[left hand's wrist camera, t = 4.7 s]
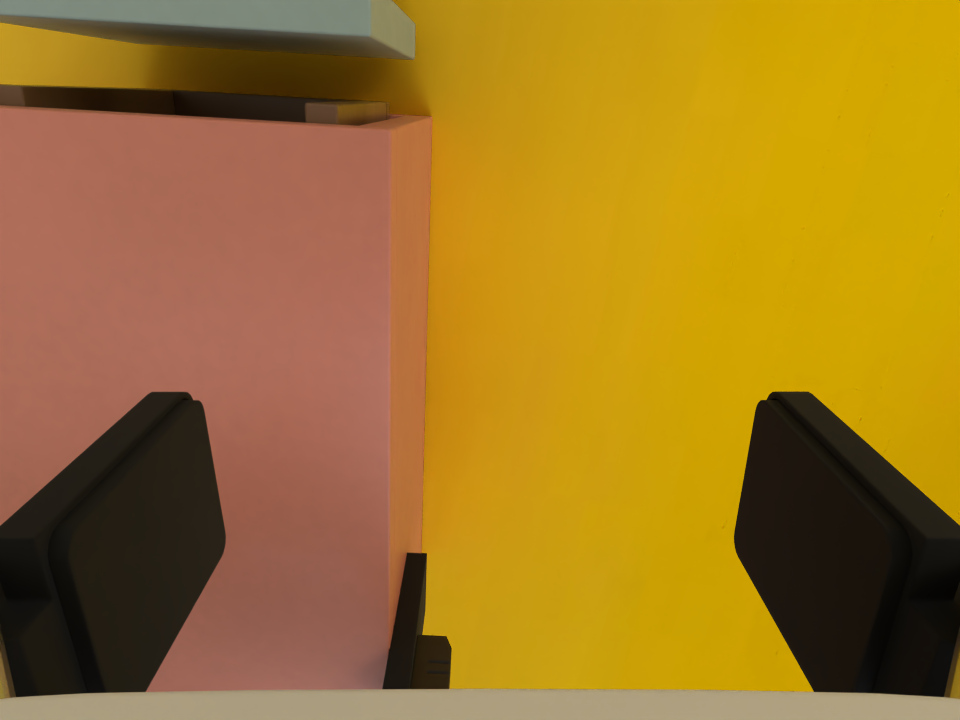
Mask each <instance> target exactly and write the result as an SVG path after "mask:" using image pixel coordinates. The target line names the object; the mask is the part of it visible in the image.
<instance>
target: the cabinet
mask: <svg viewBox="0 0 960 720" xmlns="http://www.w3.org/2000/svg"><path fill="white" fill-rule="evenodd" d="M431 148H432V117H431V116H416V115H399V114H389V120H384V121H379V122H374V123H370V124H365V125H360V126H353V125H336V124H319V123H301V122H284V121H266V120H249V119H232V118H214V117H197V116H180V115H162V114H145V113H127V112H110V111H93V110H75V109H58V108H40V107H23V106H6V105H0V525H2V524H3V523H4V522H5V521H6V520H7V519H8V518H9V517H11V516H12V515H13V514H14V513H15V512H16V511H17V510H18V509H20V508H21V507H22V506H23V505H24V504H25V503H26V502H27V501H29V500H30V499H31V498H32V497H33V496H34V495H35V494H36V493H38V492H39V491H40V490H41V489H42V488H43V487H44V486H45V485H46V484H48V483H49V482H50V481H51V480H52V479H53V478H54V477H55V476H57V475H58V474H59V473H60V472H61V471H62V470H63V469H64V468H66V467H67V466H68V465H69V464H70V463H71V462H72V461H73V460H75V459H76V458H77V457H78V456H79V455H80V454H81V453H82V452H84V451H85V450H86V449H87V448H88V447H89V446H90V445H91V444H92V443H94V442H95V441H96V440H97V439H98V438H99V437H100V436H101V435H103V434H104V433H105V432H106V431H107V430H108V429H109V428H110V427H112V426H113V425H114V424H115V423H116V422H117V421H118V420H119V419H121V418H122V417H123V416H124V415H125V414H126V413H127V412H128V411H130V410H131V409H132V408H133V407H134V406H135V405H136V404H137V403H138V402H140V401H141V400H142V399H143V398H144V397H145V396H146V395H147V394H149V393H151V392H188V393H189V394H190V395H191V396H192V398H193V400H199V401H200V402H201V403H202V405H203V407H204V411H205V417H206V422H207V428H208V434H209V440H210V446H211V451H212V457H213V463H214V469H215V475H216V480H217V486H218V492H219V498H220V503H221V509H222V515H223V521H224V527H225V533H226V543H225V549H224V553H223V555H222V557H221V559H220V561H219V563H218V564H217V566H216V568H215V570H214V571H213V573H212V575H211V577H210V579H209V580H208V582H207V584H206V586H205V587H204V589H203V591H202V593H201V595H200V596H199V598H198V600H197V602H196V603H195V605H194V607H193V609H192V611H191V612H190V614H189V616H188V618H187V619H186V621H185V623H184V625H183V627H182V628H181V630H180V632H179V634H178V635H177V637H176V639H175V641H174V643H173V644H172V646H171V648H170V650H169V651H168V653H167V655H166V657H165V659H164V660H163V662H162V664H161V666H160V667H159V669H158V671H157V673H156V675H155V676H154V678H153V680H152V682H151V683H150V685H149V687H148V689H147V691H146V692H177V691H229V690H358V689H382V687H383V682H384V676H385V671H386V665H387V660H388V654H389V649H390V645H391V640H392V634H393V626H394V623H395V617H396V612H397V606H398V600H399V595H400V589H401V584H402V578H403V572H404V567H405V561H406V556H407V552H408V553H421V545H422V506H423V466H424V426H425V387H426V347H427V307H428V267H429V228H430V188H431Z"/></svg>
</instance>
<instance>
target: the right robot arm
mask: <svg viewBox="0 0 960 720" xmlns="http://www.w3.org/2000/svg"><path fill="white" fill-rule="evenodd" d="M426 563H427V553H408V552H407V556H406V561H405V567H404V572H403V578H402V584H401V589H400V595H399V600H398V606H397V612H396V617H395V623H394V626H393V634H392V640H391V645H390V649H389V654H388V660H387V665H386V671H385V676H384V682H383V687H382V689H449V687H450V669H451V646H450V644H449V641H448V639H447V637H446V636H430V635H422V632H423V624H424V615H425V599H426Z"/></svg>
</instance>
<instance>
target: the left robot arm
mask: <svg viewBox="0 0 960 720" xmlns="http://www.w3.org/2000/svg"><path fill="white" fill-rule="evenodd" d="M225 543H226V533H225V527H224V521H223V515H222V509H221V503H220V498H219V492H218V486H217V480H216V475H215V469H214V463H213V457H212V451H211V446H210V440H209V434H208V428H207V422H206V417H205V411H204V407H203V405H202V403H201V402H200V401H199V400H193V398H192V396H191V395H190V394H189V393H188V392H151V393H149V394H147V395H146V396H145V397H144V398H143V399H142V400H141V401H140V402H138V403H137V404H136V405H135V406H134V407H133V408H132V409H131V410H130V411H128V412H127V413H126V414H125V415H124V416H123V417H122V418H121V419H119V420H118V421H117V422H116V423H115V424H114V425H113V426H112V427H110V428H109V429H108V430H107V431H106V432H105V433H104V434H103V435H101V436H100V437H99V438H98V439H97V440H96V441H95V442H94V443H92V444H91V445H90V446H89V447H88V448H87V449H86V450H85V451H84V452H82V453H81V454H80V455H79V456H78V457H77V458H76V459H75V460H73V461H72V462H71V463H70V464H69V465H68V466H67V467H66V468H64V469H63V470H62V471H61V472H60V473H59V474H58V475H57V476H55V477H54V478H53V479H52V480H51V481H50V482H49V483H48V484H46V485H45V486H44V487H43V488H42V489H41V490H40V491H39V492H38V493H36V494H35V495H34V496H33V497H32V498H31V499H30V500H29V501H27V502H26V503H25V504H24V505H23V506H22V507H21V508H20V509H18V510H17V511H16V512H15V513H14V514H13V515H12V516H11V517H9V518H8V519H7V520H6V521H5V522H4V523H3V524H2V525H0V720H960V525H958V524H957V523H956V522H955V521H954V520H953V519H952V518H951V517H949V516H948V515H947V514H946V513H945V512H944V511H943V510H942V509H940V508H939V507H938V506H937V505H936V504H935V503H934V502H933V501H931V500H930V499H929V498H928V497H927V496H926V495H925V494H924V493H922V492H921V491H920V490H919V489H918V488H917V487H916V486H915V485H914V484H912V483H911V482H910V481H909V480H908V479H907V478H906V477H905V476H903V475H902V474H901V473H900V472H899V471H898V470H897V469H896V468H894V467H893V466H892V465H891V464H890V463H889V462H888V461H887V460H885V459H884V458H883V457H882V456H881V455H880V454H879V453H878V452H876V451H875V450H874V449H873V448H872V447H871V446H870V445H869V444H868V443H866V442H865V441H864V440H863V439H862V438H861V437H860V436H859V435H857V434H856V433H855V432H854V431H853V430H852V429H851V428H850V427H848V426H847V425H846V424H845V423H844V422H843V421H842V420H841V419H839V418H838V417H837V416H836V415H835V414H834V413H833V412H832V411H830V410H829V409H828V408H827V407H826V406H825V405H824V404H823V403H822V402H820V401H819V400H818V399H817V398H816V397H815V396H814V395H813V394H811V393H809V392H772V393H771V394H770V395H769V396H768V398H767V400H761V401H760V402H759V403H758V405H757V407H756V411H755V417H754V422H753V428H752V434H751V440H750V446H749V451H748V457H747V463H746V469H745V474H744V480H743V486H742V492H741V498H740V503H739V509H738V515H737V521H736V527H735V533H734V543H735V549H736V553H737V555H738V557H739V559H740V561H741V563H742V564H743V566H744V568H745V570H746V571H747V573H748V575H749V577H750V579H751V580H752V582H753V584H754V586H755V587H756V589H757V591H758V593H759V595H760V596H761V598H762V600H763V602H764V603H765V605H766V607H767V609H768V611H769V612H770V614H771V616H772V618H773V619H774V621H775V623H776V625H777V627H778V628H779V630H780V632H781V634H782V635H783V637H784V639H785V641H786V643H787V644H788V646H789V648H790V650H791V651H792V653H793V655H794V657H795V659H796V660H797V662H798V664H799V666H800V667H801V669H802V671H803V673H804V675H805V676H806V678H807V680H808V682H809V683H810V685H811V687H812V689H813V691H814V692H783V691H731V690H602V689H358V690H229V691H177V692H146V691H147V689H148V687H149V685H150V683H151V682H152V680H153V678H154V676H155V675H156V673H157V671H158V669H159V667H160V666H161V664H162V662H163V660H164V659H165V657H166V655H167V653H168V651H169V650H170V648H171V646H172V644H173V643H174V641H175V639H176V637H177V635H178V634H179V632H180V630H181V628H182V627H183V625H184V623H185V621H186V619H187V618H188V616H189V614H190V612H191V611H192V609H193V607H194V605H195V603H196V602H197V600H198V598H199V596H200V595H201V593H202V591H203V589H204V587H205V586H206V584H207V582H208V580H209V579H210V577H211V575H212V573H213V571H214V570H215V568H216V566H217V564H218V563H219V561H220V559H221V557H222V555H223V553H224V549H225Z"/></svg>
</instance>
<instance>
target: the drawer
mask: <svg viewBox="0 0 960 720" xmlns="http://www.w3.org/2000/svg"><path fill="white" fill-rule="evenodd" d="M0 22H1V23H8V24H14V25H21V26H27V27H33V28H40V29H46V30H53V31H59V32H66V33H72V34H78V35H85V36H91V37H98V38H104V39H111V40H117V41H123V42H130V43H136V44H151V45H168V46H185V47H202V48H219V49H236V50H253V51H270V52H287V53H305V54H322V55H339V56H356V57H373V58H390V59H407V60H414V59H415V23H414V22H413V21H412V20H411V19H410V18H409V17H408V16H407V15H406V14H405V13H404V12H403V11H402V10H401V9H400V8H399V7H398V6H397V5H396V4H395V3H394V2H393V1H392V0H0ZM0 105H6V106H23V107H40V108H58V109H75V110H93V111H110V112H127V113H145V114H162V115H180V116H197V117H214V118H232V119H249V120H266V121H284V122H301V123H319V124H336V125H353V126H360V125H365V124H370V123H374V122H379V121H384V120H389V102H379V101H362V100H344V99H327V98H310V97H293V96H275V95H258V94H241V93H223V92H206V91H189V90H172V89H146V88H112V87H77V86H42V85H7V84H0Z"/></svg>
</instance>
